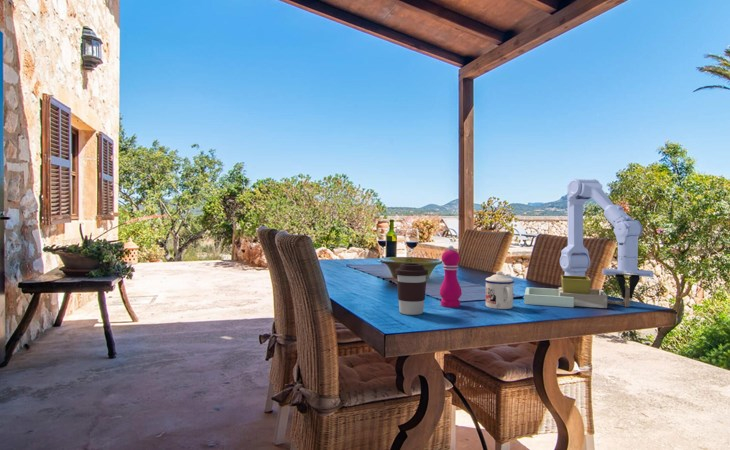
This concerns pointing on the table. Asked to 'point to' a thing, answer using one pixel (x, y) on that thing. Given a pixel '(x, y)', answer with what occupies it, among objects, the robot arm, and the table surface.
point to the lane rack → (546, 297)
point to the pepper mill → (450, 279)
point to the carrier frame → (595, 298)
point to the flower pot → (575, 284)
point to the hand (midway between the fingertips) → (626, 297)
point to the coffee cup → (411, 288)
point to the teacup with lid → (499, 291)
